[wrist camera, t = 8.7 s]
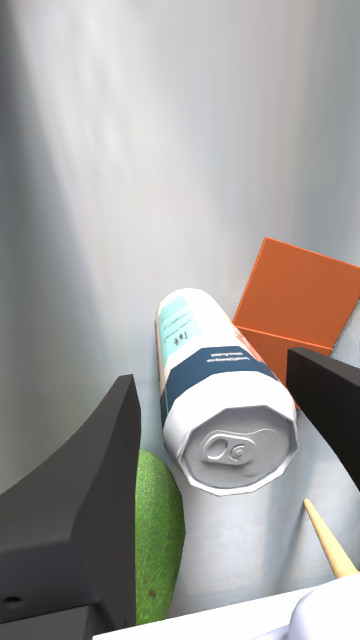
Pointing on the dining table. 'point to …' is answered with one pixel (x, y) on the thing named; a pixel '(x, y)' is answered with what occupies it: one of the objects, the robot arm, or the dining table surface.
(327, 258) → the orange stepped block
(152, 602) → the avocado
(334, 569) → the ice cream cone
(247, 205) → the dining table surface
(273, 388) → the beer can
